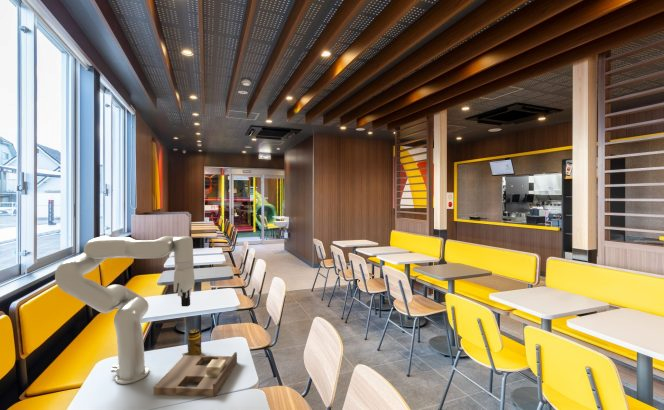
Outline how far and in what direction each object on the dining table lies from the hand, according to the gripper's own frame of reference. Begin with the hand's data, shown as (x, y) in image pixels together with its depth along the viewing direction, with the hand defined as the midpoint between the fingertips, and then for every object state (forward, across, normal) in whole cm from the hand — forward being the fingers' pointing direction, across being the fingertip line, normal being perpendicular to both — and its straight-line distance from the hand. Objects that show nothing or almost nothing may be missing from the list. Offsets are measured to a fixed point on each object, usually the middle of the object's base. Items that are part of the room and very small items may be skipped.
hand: (185, 305), depth 145 cm
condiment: (+29, -12, -4) cm, 32 cm away
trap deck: (+29, +6, +8) cm, 31 cm away
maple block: (+26, +6, +15) cm, 31 cm away
